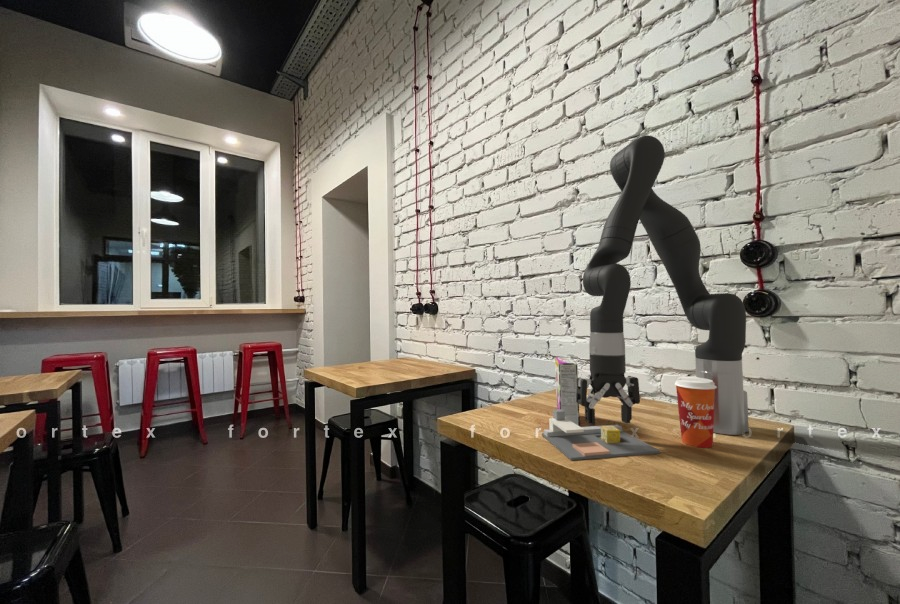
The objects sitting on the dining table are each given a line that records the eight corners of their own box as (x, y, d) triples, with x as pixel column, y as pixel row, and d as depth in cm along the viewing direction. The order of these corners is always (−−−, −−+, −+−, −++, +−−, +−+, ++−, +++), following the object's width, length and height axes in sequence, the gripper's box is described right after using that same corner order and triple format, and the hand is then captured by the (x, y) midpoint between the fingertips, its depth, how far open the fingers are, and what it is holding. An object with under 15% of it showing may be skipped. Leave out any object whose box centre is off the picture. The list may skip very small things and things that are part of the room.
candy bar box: (555, 414, 102) (554, 357, 103) (574, 414, 101) (572, 357, 102) (559, 426, 91) (558, 362, 92) (580, 427, 90) (578, 362, 91)
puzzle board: (617, 430, 88) (617, 423, 88) (660, 453, 73) (660, 445, 73) (541, 435, 85) (541, 429, 85) (571, 460, 70) (570, 452, 70)
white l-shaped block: (565, 427, 85) (564, 408, 85) (584, 441, 77) (583, 419, 77) (549, 429, 85) (549, 409, 85) (566, 442, 76) (566, 420, 76)
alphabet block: (613, 438, 82) (613, 425, 82) (620, 443, 79) (620, 429, 79) (600, 439, 82) (600, 425, 82) (607, 444, 79) (606, 430, 79)
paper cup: (680, 447, 76) (678, 381, 76) (673, 435, 83) (670, 375, 84) (725, 452, 73) (722, 383, 74) (713, 439, 80) (710, 377, 81)
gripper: (625, 349, 86) (626, 417, 85) (570, 351, 84) (571, 420, 84) (646, 353, 79) (648, 427, 78) (586, 354, 77) (587, 430, 76)
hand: (608, 423), depth 81 cm, fingers open, 8 cm apart
